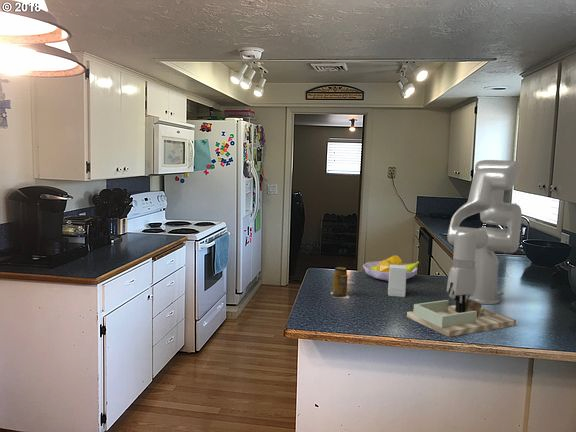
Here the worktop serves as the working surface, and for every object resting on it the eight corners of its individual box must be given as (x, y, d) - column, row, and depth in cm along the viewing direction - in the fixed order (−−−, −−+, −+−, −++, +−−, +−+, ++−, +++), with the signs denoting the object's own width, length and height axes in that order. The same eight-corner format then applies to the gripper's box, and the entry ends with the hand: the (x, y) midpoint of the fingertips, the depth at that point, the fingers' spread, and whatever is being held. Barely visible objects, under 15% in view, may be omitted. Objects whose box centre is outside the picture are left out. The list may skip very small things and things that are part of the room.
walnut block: (468, 312, 185) (473, 300, 185) (477, 317, 180) (482, 304, 180) (458, 309, 183) (463, 297, 183) (467, 313, 178) (472, 300, 178)
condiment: (346, 293, 215) (347, 266, 214) (349, 298, 207) (350, 270, 206) (330, 292, 215) (331, 266, 214) (332, 298, 207) (333, 270, 205)
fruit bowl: (351, 275, 249) (352, 253, 247) (392, 270, 262) (393, 249, 261) (388, 288, 225) (389, 264, 223) (431, 282, 238) (432, 259, 236)
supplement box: (405, 297, 211) (407, 268, 210) (387, 295, 213) (389, 267, 211) (404, 292, 218) (406, 265, 217) (387, 291, 220) (389, 263, 218)
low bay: (446, 310, 188) (446, 299, 187) (476, 322, 174) (477, 311, 174) (413, 314, 181) (413, 304, 181) (441, 327, 168) (442, 316, 167)
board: (469, 308, 198) (470, 303, 198) (515, 325, 178) (516, 320, 178) (406, 317, 184) (407, 311, 184) (448, 337, 165) (449, 331, 164)
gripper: (471, 260, 185) (467, 307, 187) (440, 263, 179) (437, 311, 181) (486, 264, 178) (482, 313, 180) (455, 267, 172) (451, 317, 174)
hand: (460, 312), depth 181 cm, fingers closed
